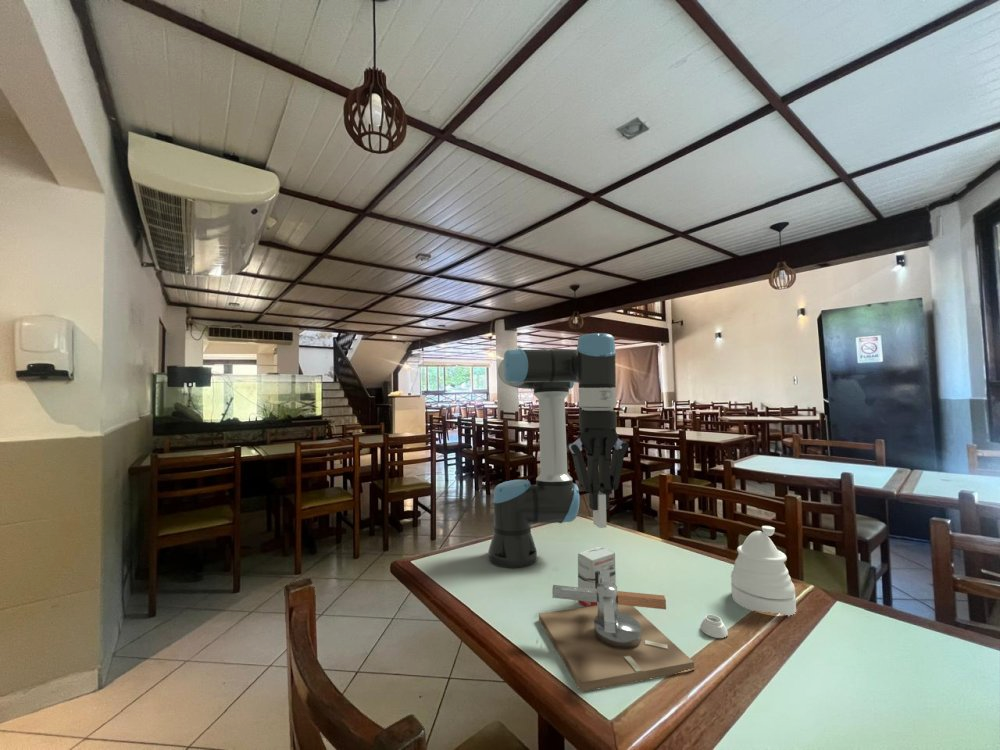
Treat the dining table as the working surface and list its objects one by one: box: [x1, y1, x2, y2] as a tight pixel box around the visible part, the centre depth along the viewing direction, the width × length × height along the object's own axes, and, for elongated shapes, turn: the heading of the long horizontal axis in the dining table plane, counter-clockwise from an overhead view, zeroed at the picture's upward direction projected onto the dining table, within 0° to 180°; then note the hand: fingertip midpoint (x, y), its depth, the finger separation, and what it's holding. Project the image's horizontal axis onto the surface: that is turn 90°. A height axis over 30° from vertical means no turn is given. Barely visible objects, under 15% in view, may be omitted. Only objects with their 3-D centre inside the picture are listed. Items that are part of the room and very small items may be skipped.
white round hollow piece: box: [700, 613, 729, 639], centre depth 81 cm, size 5×3×5 cm
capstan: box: [551, 569, 667, 648], centre depth 78 cm, size 22×22×9 cm
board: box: [538, 605, 695, 693], centre depth 78 cm, size 22×22×2 cm
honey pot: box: [730, 525, 797, 617], centre depth 94 cm, size 13×13×18 cm
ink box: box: [577, 545, 617, 607], centre depth 94 cm, size 8×5×12 cm, turn 123°
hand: (599, 525), depth 79 cm, fingers closed
